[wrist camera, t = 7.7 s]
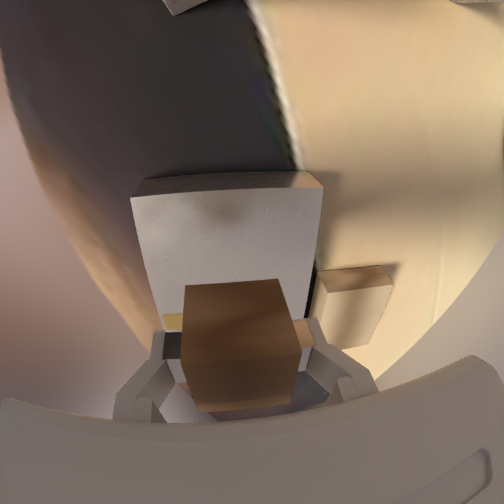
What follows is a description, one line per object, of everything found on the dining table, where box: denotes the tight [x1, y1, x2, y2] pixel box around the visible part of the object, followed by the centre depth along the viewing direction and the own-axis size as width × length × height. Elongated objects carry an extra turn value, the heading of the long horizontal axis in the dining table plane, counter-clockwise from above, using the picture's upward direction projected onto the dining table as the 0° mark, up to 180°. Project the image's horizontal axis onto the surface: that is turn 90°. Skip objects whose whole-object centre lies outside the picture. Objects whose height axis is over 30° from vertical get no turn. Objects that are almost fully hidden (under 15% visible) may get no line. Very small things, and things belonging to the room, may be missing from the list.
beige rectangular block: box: [308, 266, 394, 350], centre depth 27 cm, size 7×9×3 cm
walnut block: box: [180, 278, 302, 412], centre depth 11 cm, size 4×4×4 cm
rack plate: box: [130, 171, 324, 330], centre depth 22 cm, size 12×17×4 cm
